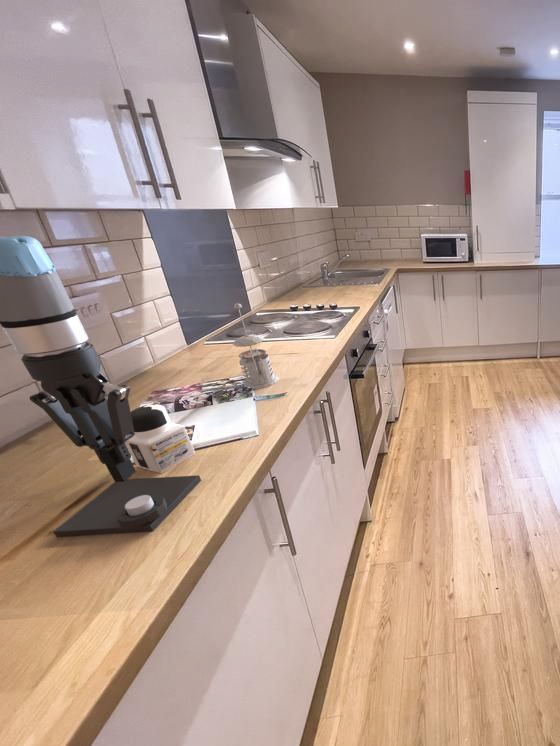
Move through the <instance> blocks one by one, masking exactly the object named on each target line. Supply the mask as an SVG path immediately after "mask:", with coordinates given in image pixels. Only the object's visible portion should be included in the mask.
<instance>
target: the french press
mask: <svg viewBox="0 0 560 746" xmlns="http://www.w3.org/2000/svg"><path fill="white" fill-rule="evenodd" d="M233 308H234V309H238V310H237V311H238V312H239V316H240V319H241V322H242V325H243V329H244V332H245V335H242V336H240V337H237V339H235V340H234V341H233V342H232V346H234V347H236V348H237V347H238V348H245V347H249V348H250V349H249V350H245V351H243V352H240V353H239V355H238V358H239V360H238V363H239V365H240V366H241V367H240V369H241V370H242V371H241V372H242V374H243V378H244V381H245V382H244V383H243V386H246V387H250V388H252V389H251V390H257V389H258V390H259V389H264V388H268V387H271V386H272V385H273V386H274V384H277V382H278V381H280V378H279V377H278V376H276V375H275V373H274V371H273V370H274V369H273V367H272V364H271V360H270V357H269V354H268V353H267V350H265V349H262V348H261V349H260V348H257V347H255V349H252V346H255V345H259V344H260V343H262V342H263V341H264V340H265V338H264V336H261V335H259V334H248V333H247V329H246V326H245V323H244V320H243V316H242V313H241V310H240V309H241V308H243V306H242V304H241V303H237V302H236V303H234V305H233Z"/></svg>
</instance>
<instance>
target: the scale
mask: <svg viewBox="0 0 560 746" xmlns="http://www.w3.org/2000/svg"><path fill="white" fill-rule="evenodd" d="M201 481H202V479H201V476H200V475H197V474H196V475H180V476H161V477H160V476H159V477H144V478H128V479H127V480H126V481H124V482H115V481H114V482H112V483H111V484H110V485H109V486H108V487H106V488H105V489H104V490H102V491H101V492H100V493H99V494H97V496H95V497H94V498H93V499H91V501H89V502H88V503H87V504H86V505H84V506H83V507H82V508H80V509H79V510H78V511H77V512H75V513H74V514H73V515H72V516H70V517H69V518H68V519H66V521H64V522H63V523H62V524H61V525H59V526H58V527H57V528H56V529H55V530H53V531H52V533H53V534H54V536H55V537H56V538H70V537H85V536H87V537H88V536H102V535H103V536H104V535H119V534H133V533H134V534H135V533H150V532H154V531H155V530H156V529H158V527H159V526H160V525H161V524H162V523H163V522H164V521H165V519H166V518H167V517H168V516H169V515H170V514H171V513H172V512H173V511H174V510H175V509H176V508H177V507H178V506H179V505H180V504H181V503H182V501H184V499H185V498H186V497H188V495H189V494H190V493H192V491H193V490H194V489H195V488H196V487H197V486H198V485H199V484H200V482H201ZM143 495H149V496H150V497H151V498H152V500H153V502H154V507H153V508H152V509H151V510H149V511H147V512H145V513H144V514H140V515H137V516H130V515H129V514H128V512H127V510H126V509H125V505H126V503H127V502H129V501H130V500H132V499H134V498H136V497H139V496H143Z"/></svg>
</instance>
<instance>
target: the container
mask: <svg viewBox="0 0 560 746" xmlns="http://www.w3.org/2000/svg"><path fill="white" fill-rule="evenodd" d="M130 412H131V417H132V422H133V427H134V432H135V435H134V436H133V437H132V438H130V439H129V440H127V441H126V442H125V444H126V446H127V448H128V450H129V452H130V454H131V459H132V460H133V462H134V463H135V466H136V467H137V468H140V469H142V470H143V469H144V470H147V471H151V472H154V473H158V474H163V473H165V472H166V471H167V470H170V469H172V468H173V467H175V466H177V465H178V464H180V463H182V462H184V461H186V460H188V459H189V458H192V456H195V455H196V451H195V448H194V446H193V444H192V441H191V439H190V437H189V434H188V432H187V429H186V427H185V426H184V425H183V424H178V423H174V422H172V420H171V419H170V417H169V414H168V412H167V410H166V407H165V406H163V405H162V404H148V405H147V404H146V405H143V406H139V407H137V408H135V409H132V410H130Z"/></svg>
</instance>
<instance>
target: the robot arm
mask: <svg viewBox="0 0 560 746" xmlns="http://www.w3.org/2000/svg"><path fill="white" fill-rule="evenodd" d="M56 268H57V267H56V265H55V263H53V262H52V261H51V258H50V257H49V255H48V253H47V252H46V250H45V249H44V246H43V245H42V243H41V242H40V241H38V239H36V238H34V237H32V236H28V235H11V236H9V235H8V236H7V235H5V236H3V235H2V236H0V326H1V328H2V330H3V332H4V333H5V335H6V337H7V339H8V340H9V342H10V344H11V345H12V348H13V350H14V351H15V352H16V353H17V354H20V355H22V357H21V358H20V361H21V362H22V364H23V365H24V367H25V369H26V370H27V373H28V374H29V376H30V377H31V378H32V380H33V381H36V382H40V388H41V390H40V391H38V392H36V393H34V394H32V395H30V396H29V400H30V401H31V402H32V403H33V404H35V405H36V406H38V407H39V408H40V409H42V410H43V411H44V413H46V414H47V416H48V417H49V418H50V419H51V420H52V421H53V422H54V423H55V424H56V425H57V426H58V428H60V430H61V431H62V432H63V433H64V434H65V435H66V437H68V438H69V440H70V441H71V442H72V443H73V444H74V445H75V446H76V447H79V448H82V447H88V448H89V449H90V450H93V451H94V453H95V455H96V456H97V458H98V460H99V462H100V463H101V464H102V465H105V467H106V468H107V470H108V472H109V475H110V476H111V478H112V480H113V481H114V482H124V481H126V480H127V479H130V478H131V477H132V476H133V475H135V473H137V469H136V468H135V466H134V464H133V463H132V461H131V459H132V456H131V454H130V452H129V450H128V448H127V446H126V444H125V442H126V441H127V440H129V439H130V438H132V437H133V436H134V435H135V432H134V427H133V422H132V417H131V408H130V402H129V396H130V395H129V394H130V391H131V387H130V386H128V385H127V384H122V385H121V386H118V385H116V384H115V383H111V382H110V380H109V378H108V377H107V376H106V375H104V373H103V372H102V371H101V366H102V360H101V359H100V356H99V355H98V352H97V351H96V349H95V347H94V345H93V344H92V343H90V342H88V340H89V339H90V338H89V336H88V333H87V332H86V329H85V328H84V326H83V324H82V322H81V319H80V317H79V315H78V314H77V312H76V309H75V307H74V305H73V303H72V301H71V298H70V297H69V294H68V292H67V290H66V288H65V286H64V284H63V282H62V280H61V278H60V276H59V274H58V272H57V270H56Z"/></svg>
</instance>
